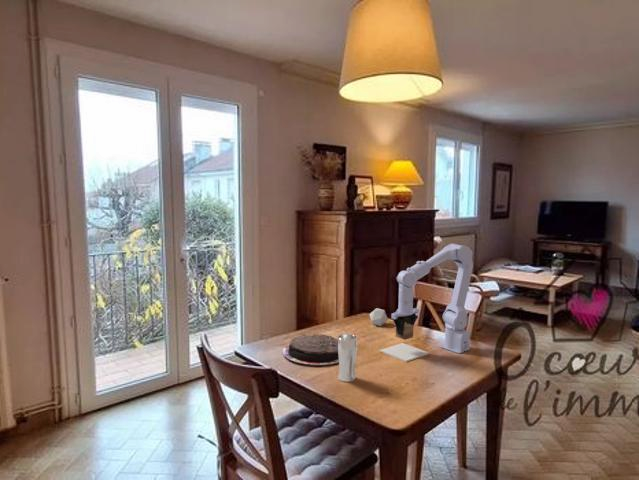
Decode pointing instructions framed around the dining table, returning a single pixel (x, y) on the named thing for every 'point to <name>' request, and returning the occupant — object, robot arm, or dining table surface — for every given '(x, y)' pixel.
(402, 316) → the robot arm
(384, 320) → the die
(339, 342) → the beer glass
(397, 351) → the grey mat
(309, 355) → the chocolate cake
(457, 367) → the dining table surface
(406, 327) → the walnut cube
